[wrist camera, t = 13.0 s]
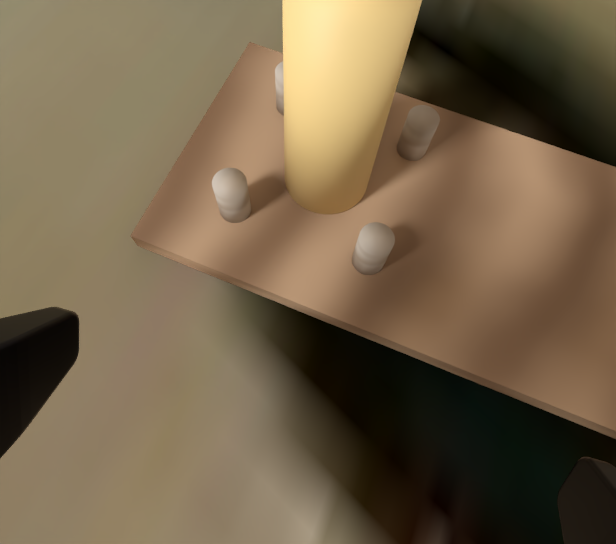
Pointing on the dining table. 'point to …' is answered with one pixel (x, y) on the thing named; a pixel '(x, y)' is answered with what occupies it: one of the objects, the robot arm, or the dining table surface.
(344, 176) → the post
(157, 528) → the dining table surface
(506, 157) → the board
